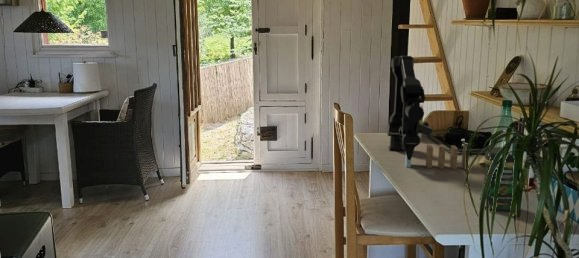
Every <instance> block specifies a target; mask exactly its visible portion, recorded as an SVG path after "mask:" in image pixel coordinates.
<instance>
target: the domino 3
mask: <svg viewBox="0 0 579 258" xmlns="http://www.w3.org/2000/svg"><path fill="white" fill-rule="evenodd" d="M437 155H438V156H437V167H438V168H439V169H442V170H445V160H446V147H445V145H443V144H439V145H438V154H437Z"/></svg>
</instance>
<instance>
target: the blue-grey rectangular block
mask: <svg viewBox="0 0 579 258" xmlns="http://www.w3.org/2000/svg"><path fill="white" fill-rule="evenodd" d="M404 160H405V161H404V165H405V167H406V168H411V166H412V165H411V164H412V159H411V160H408V158H407V155H406V154H405V159H404Z"/></svg>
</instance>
